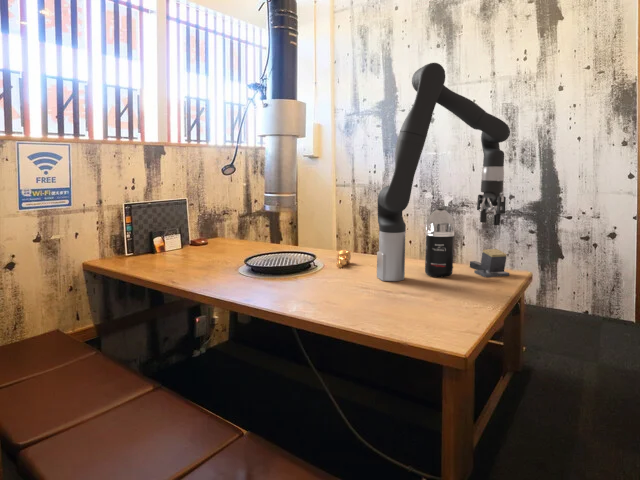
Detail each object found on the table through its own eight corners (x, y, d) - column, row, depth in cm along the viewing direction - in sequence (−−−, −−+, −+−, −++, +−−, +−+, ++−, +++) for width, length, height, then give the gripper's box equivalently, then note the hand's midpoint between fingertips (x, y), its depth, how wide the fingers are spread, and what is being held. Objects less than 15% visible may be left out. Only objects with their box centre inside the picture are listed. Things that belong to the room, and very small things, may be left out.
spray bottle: (454, 278, 160) (457, 209, 156) (424, 277, 162) (426, 208, 158) (451, 272, 170) (454, 206, 166) (423, 271, 172) (425, 206, 168)
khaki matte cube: (489, 272, 162) (492, 255, 160) (480, 266, 168) (482, 249, 166) (504, 271, 164) (506, 254, 162) (494, 265, 169) (497, 248, 167)
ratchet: (484, 277, 161) (485, 261, 161) (461, 267, 177) (461, 252, 176) (509, 275, 164) (510, 259, 163) (483, 266, 180) (484, 251, 179)
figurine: (329, 266, 179) (332, 255, 190) (340, 276, 180) (342, 264, 191) (344, 252, 176) (346, 242, 187) (355, 263, 177) (356, 252, 188)
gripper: (472, 179, 167) (470, 221, 170) (494, 179, 154) (491, 226, 156) (490, 179, 169) (487, 221, 171) (514, 179, 155) (510, 225, 158)
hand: (489, 223), depth 164 cm, fingers open, 8 cm apart
